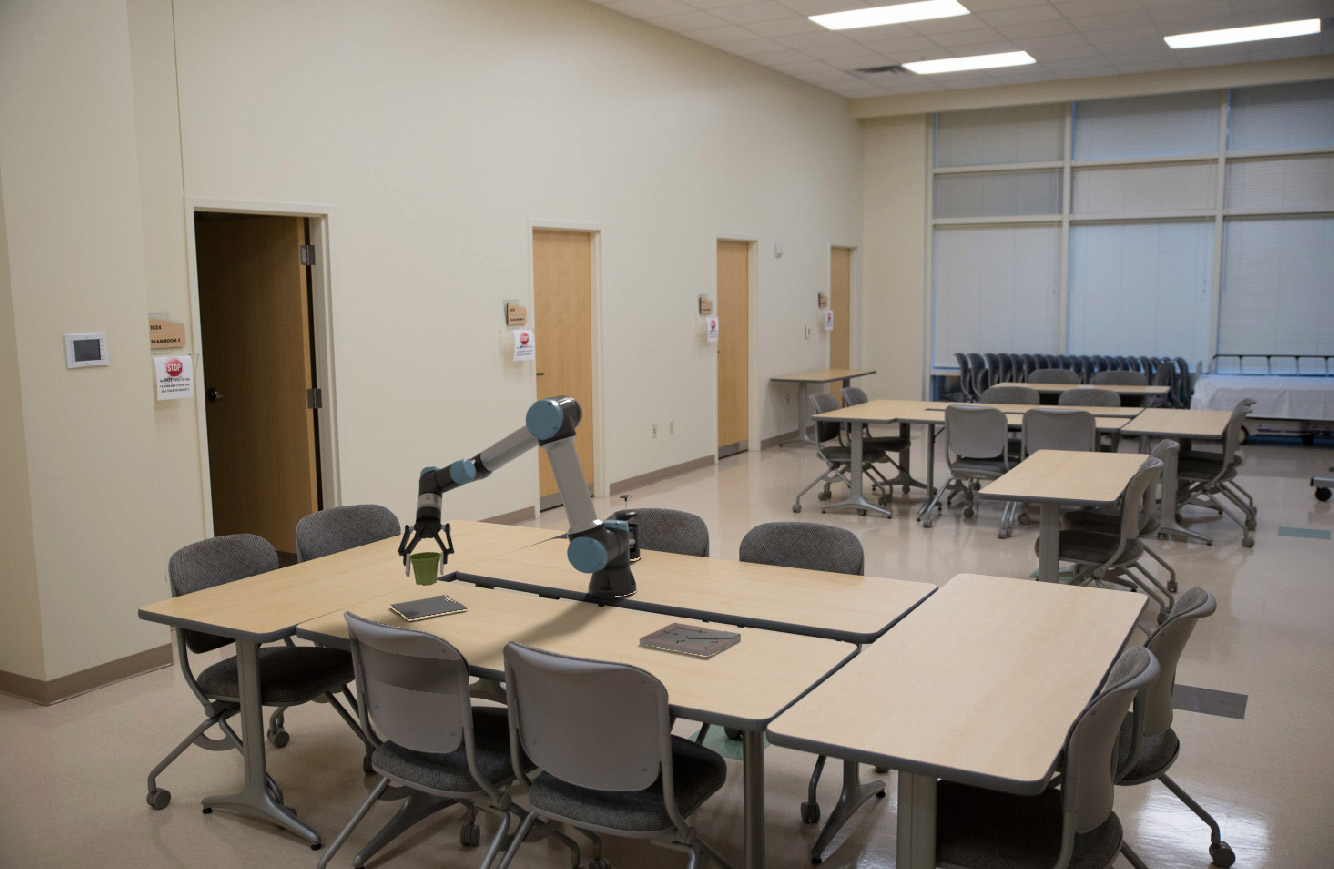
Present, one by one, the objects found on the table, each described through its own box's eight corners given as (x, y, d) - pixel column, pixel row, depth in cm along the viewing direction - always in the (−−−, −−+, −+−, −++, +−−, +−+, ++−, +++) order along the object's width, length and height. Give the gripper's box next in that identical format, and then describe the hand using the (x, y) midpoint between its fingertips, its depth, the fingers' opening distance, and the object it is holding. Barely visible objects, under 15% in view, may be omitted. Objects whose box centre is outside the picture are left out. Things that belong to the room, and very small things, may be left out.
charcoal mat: (467, 611, 315) (467, 607, 315) (408, 622, 306) (408, 618, 306) (446, 597, 331) (446, 594, 330) (390, 607, 321) (390, 604, 321)
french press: (648, 558, 374) (645, 494, 371) (630, 563, 366) (628, 499, 363) (623, 554, 381) (620, 492, 378) (605, 559, 374) (603, 496, 371)
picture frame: (741, 642, 281) (674, 630, 293) (740, 633, 280) (674, 621, 293) (707, 660, 267) (639, 647, 280) (707, 651, 267) (639, 637, 279)
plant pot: (445, 585, 315) (443, 557, 314) (413, 589, 311) (411, 560, 310) (439, 578, 323) (438, 550, 322) (408, 581, 320) (407, 554, 319)
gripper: (391, 506, 324) (384, 569, 310) (463, 503, 325) (460, 565, 312) (395, 519, 330) (389, 581, 316) (466, 516, 331) (463, 578, 318)
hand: (424, 573), depth 314 cm, fingers closed on plant pot, 9 cm apart
